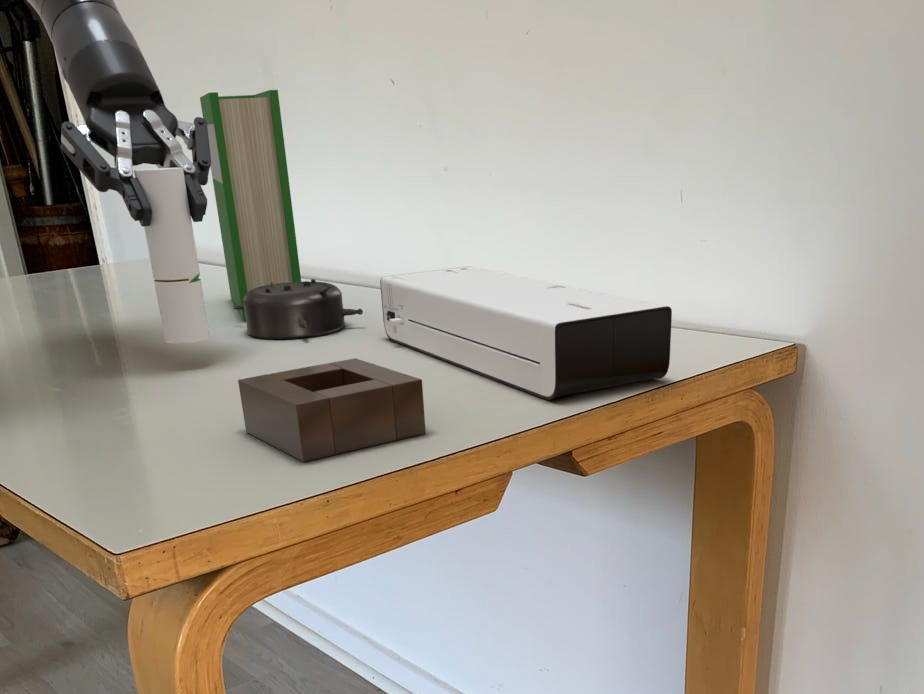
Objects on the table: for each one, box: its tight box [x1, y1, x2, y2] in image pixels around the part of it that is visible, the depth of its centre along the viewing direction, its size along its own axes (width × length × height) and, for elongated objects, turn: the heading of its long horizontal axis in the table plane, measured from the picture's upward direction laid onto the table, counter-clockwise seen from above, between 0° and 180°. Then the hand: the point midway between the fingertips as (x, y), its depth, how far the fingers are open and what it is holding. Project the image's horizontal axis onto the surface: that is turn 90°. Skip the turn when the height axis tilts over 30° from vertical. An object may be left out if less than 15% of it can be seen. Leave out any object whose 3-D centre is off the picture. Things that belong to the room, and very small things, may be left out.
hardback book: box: [199, 89, 302, 323], centre depth 121 cm, size 18×7×24 cm, turn 17°
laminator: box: [379, 265, 673, 401], centre depth 92 cm, size 34×12×6 cm, turn 29°
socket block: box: [237, 358, 427, 463], centre depth 73 cm, size 10×10×4 cm
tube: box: [133, 167, 211, 344], centre depth 93 cm, size 4×4×15 cm
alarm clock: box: [232, 278, 364, 340], centre depth 112 cm, size 11×5×16 cm
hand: (174, 216), depth 90 cm, fingers closed on tube, 4 cm apart
